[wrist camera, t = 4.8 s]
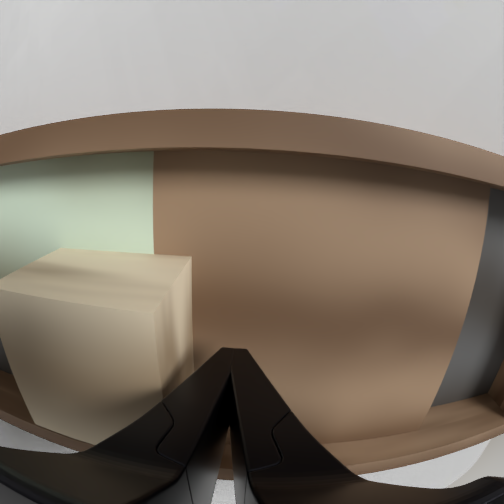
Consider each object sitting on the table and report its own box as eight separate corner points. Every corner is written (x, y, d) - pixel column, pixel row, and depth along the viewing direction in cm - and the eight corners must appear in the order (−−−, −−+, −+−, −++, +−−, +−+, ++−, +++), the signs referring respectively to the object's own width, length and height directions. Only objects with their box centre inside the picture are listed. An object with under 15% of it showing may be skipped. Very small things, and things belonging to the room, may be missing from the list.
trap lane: (488, 398, 14) (513, 428, 11) (-18, 368, 14) (-44, 393, 11) (548, 186, 11) (592, 196, 7) (-56, 163, 10) (-96, 169, 7)
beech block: (194, 382, 11) (174, 462, 7) (80, 363, 11) (35, 424, 7) (191, 256, 10) (153, 313, 6) (60, 247, 10) (-13, 286, 6)
